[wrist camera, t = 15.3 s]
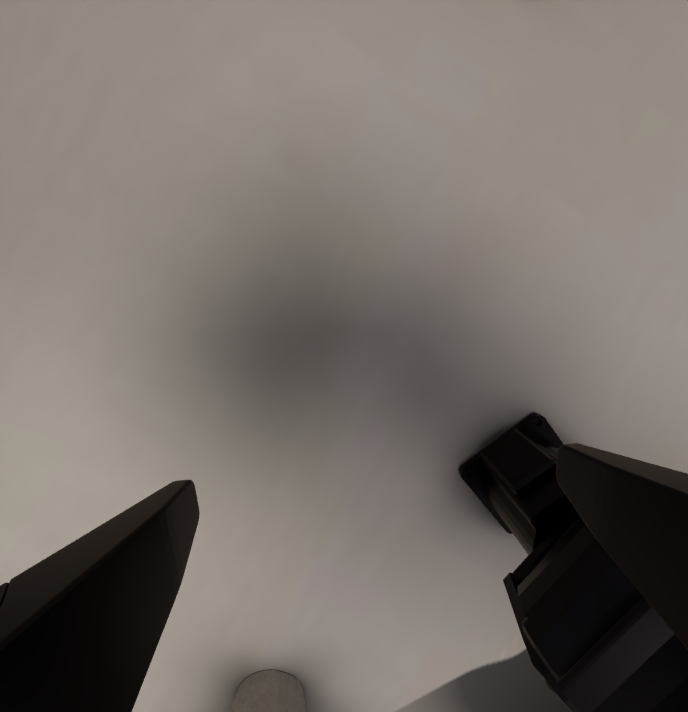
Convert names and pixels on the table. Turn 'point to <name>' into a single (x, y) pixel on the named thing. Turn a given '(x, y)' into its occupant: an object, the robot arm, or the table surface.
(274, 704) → the house plant
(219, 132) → the table surface
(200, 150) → the table surface
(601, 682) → the robot arm
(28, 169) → the table surface
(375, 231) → the table surface
